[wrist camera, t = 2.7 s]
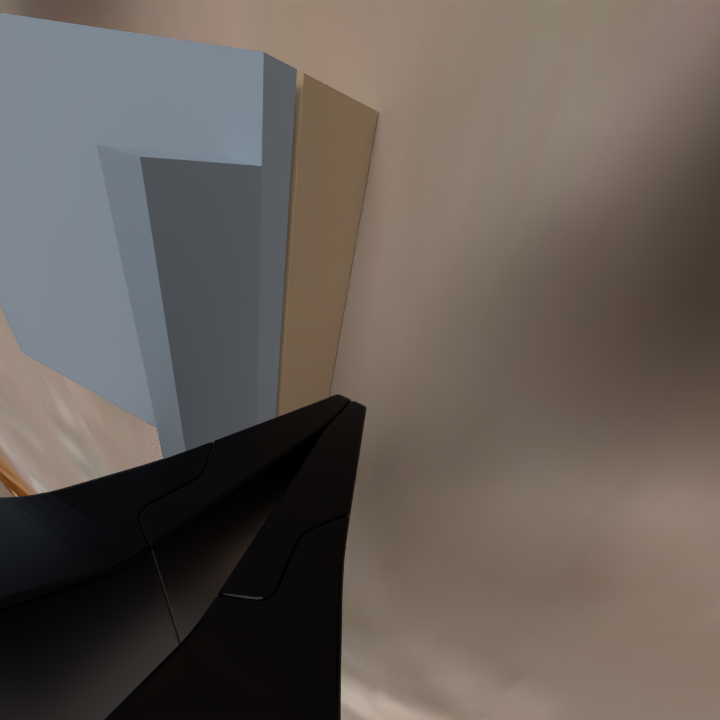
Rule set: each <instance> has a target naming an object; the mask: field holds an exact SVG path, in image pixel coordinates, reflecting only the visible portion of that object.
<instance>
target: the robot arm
mask: <svg viewBox="0 0 720 720" xmlns="http://www.w3.org/2000/svg"><path fill="white" fill-rule="evenodd" d="M365 415H366V406H364V405H362V404H360V403H357V402H355V401H352V402H351V400H350V399H348V398H346V397H344V396H341V395H334V396H331V397H329V398H326V399H323V400H321V401H318V402H315V403H313V404H310V405H307V406H305V407H302V408H299V409H297V410H294V411H291V412H289V413H286V414H283V415H281V416H278V417H276V418H273V419H270V420H268V421H265V422H262V423H260V424H257V425H254V426H252V427H249V428H246V429H244V430H241V431H238V432H236V433H233V434H230V435H228V436H225V437H223V438H220V439H217V440H215V441H214V443H213V442H209V443H206V444H204V445H201V446H198V447H196V448H193V449H190V450H187V451H184V452H182V453H179V454H176V455H173V456H170V457H167V458H164V459H161V460H158V461H154V462H151V463H148V464H145V465H142V466H138V467H135V468H131V469H128V470H125V471H121V472H118V473H114V474H111V475H107V476H104V477H100V478H97V479H94V480H90V481H87V482H83V483H80V484H76V485H73V486H69V487H66V488H62V489H58V490H55V491H51V492H46V493H41V494H36V495H28V496H21V497H6V498H5V497H4V498H3V497H1V498H0V720H341V646H342V595H343V574H344V559H345V550H346V541H347V533H348V527H349V520H350V518H349V517H350V513H351V506H352V500H353V493H354V487H355V480H356V474H357V467H358V461H359V454H360V447H361V441H362V434H363V428H364V421H365Z"/></svg>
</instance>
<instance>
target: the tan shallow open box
mask: <svg viewBox="0 0 720 720" xmlns="http://www.w3.org/2000/svg"><path fill="white" fill-rule="evenodd" d="M377 118H378V112H377V111H375V110H373V109H372V108H370V107H368V106H366V105H364V104H362V103H360V102H358V101H356V100H354V99H352V98H350V97H349V96H347V95H345V94H343V93H341V92H339V91H337V90H335V89H333V88H331V87H329V86H328V85H326V84H324V83H322V82H320V81H318V80H316V79H314V78H312V77H310V76H308V75H306V74H305V73H299V72H297V78H296V95H295V111H294V127H293V144H292V160H291V177H290V193H289V209H288V226H287V242H286V259H285V275H284V291H283V308H282V324H281V341H280V357H279V373H278V390H277V406H276V417H278V416H281V415H283V414H286V413H289V412H291V411H294V410H297V409H299V408H302V407H305V406H307V405H310V404H313V403H315V402H318V401H321V400H323V399H326V398H329V394H330V389H331V383H332V377H333V371H334V365H335V360H336V354H337V348H338V342H339V337H340V331H341V325H342V319H343V314H344V308H345V302H346V296H347V291H348V285H349V279H350V273H351V267H352V262H353V256H354V250H355V244H356V239H357V233H358V227H359V221H360V216H361V210H362V204H363V198H364V193H365V187H366V181H367V175H368V169H369V164H370V158H371V152H372V146H373V141H374V135H375V129H376V123H377Z"/></svg>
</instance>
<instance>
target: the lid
mask: <svg viewBox="0 0 720 720" xmlns="http://www.w3.org/2000/svg"><path fill="white" fill-rule="evenodd" d="M296 78H297V69H295V68H293V67H291V66H289V65H287V64H285V63H283V62H282V61H280V60H278V59H276V58H274V57H272V56H270V55H268V54H266V53H264V52H259V51H252V50H246V49H239V48H232V47H226V46H219V45H212V44H206V43H199V42H192V41H186V40H179V39H172V38H166V37H159V36H152V35H146V34H139V33H132V32H126V31H119V30H112V29H106V28H99V27H92V26H86V25H79V24H72V23H66V22H59V21H52V20H46V19H39V18H32V17H26V16H19V15H12V14H6V13H0V305H1V308H2V310H3V312H4V314H5V317H6V319H7V321H8V323H9V325H10V328H11V330H12V332H13V334H14V337H15V339H16V341H17V343H18V345H19V348H20V350H21V352H22V353H24V354H26V355H28V356H29V357H31V358H33V359H35V360H37V361H38V362H40V363H42V364H44V365H45V366H47V367H49V368H51V369H53V370H54V371H56V372H58V373H60V374H62V375H63V376H65V377H67V378H69V379H70V380H72V381H74V382H76V383H78V384H79V385H81V386H83V387H85V388H86V389H88V390H90V391H92V392H94V393H95V394H97V395H99V396H101V397H102V398H104V399H106V400H108V401H110V402H111V403H113V404H115V405H117V406H118V407H120V408H122V409H124V410H126V411H127V412H129V413H131V414H133V415H134V416H136V417H138V418H140V419H142V420H143V421H145V422H147V423H149V424H150V425H152V426H154V427H156V428H157V430H158V435H159V440H160V444H161V449H162V454H163V459H164V458H167V457H170V456H173V455H176V454H179V453H182V452H184V451H187V450H190V449H193V448H196V447H198V446H201V445H204V444H206V443H209V442H213V443H214V441H215V440H217V439H220V438H223V437H225V436H228V435H230V434H233V433H236V432H238V431H241V430H244V429H246V428H249V427H252V426H254V425H257V424H260V423H262V422H265V421H268V420H270V419H273V418H276V406H277V390H278V373H279V357H280V341H281V324H282V308H283V291H284V275H285V259H286V242H287V226H288V209H289V193H290V177H291V160H292V144H293V127H294V111H295V95H296Z"/></svg>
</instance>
